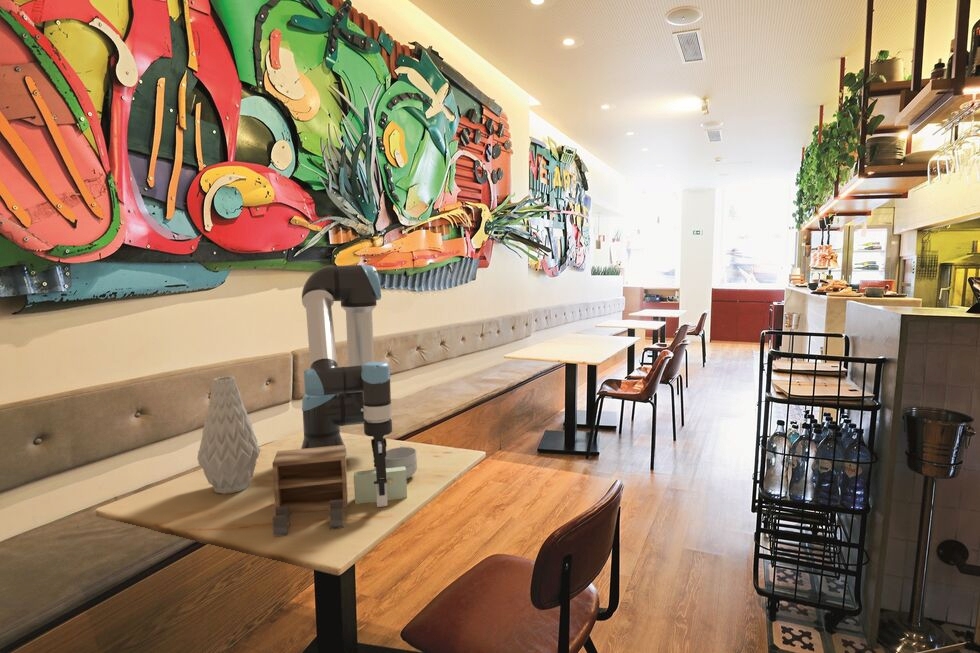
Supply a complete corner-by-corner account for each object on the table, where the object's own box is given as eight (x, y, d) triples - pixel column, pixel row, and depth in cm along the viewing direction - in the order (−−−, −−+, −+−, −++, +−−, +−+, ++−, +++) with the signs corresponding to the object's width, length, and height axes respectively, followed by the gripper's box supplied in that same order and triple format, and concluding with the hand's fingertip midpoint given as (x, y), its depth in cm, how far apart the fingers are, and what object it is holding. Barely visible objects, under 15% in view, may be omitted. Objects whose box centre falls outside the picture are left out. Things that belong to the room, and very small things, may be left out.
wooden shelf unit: (280, 500, 153) (277, 451, 152) (347, 492, 158) (345, 444, 156) (269, 537, 132) (265, 480, 130) (347, 527, 136) (344, 471, 135)
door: (354, 499, 153) (353, 471, 152) (406, 493, 156) (405, 466, 155) (355, 505, 149) (353, 477, 148) (407, 499, 152) (406, 471, 152)
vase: (191, 489, 163) (182, 379, 160) (248, 473, 175) (241, 370, 171) (211, 505, 151) (202, 386, 148) (271, 487, 163) (264, 377, 160)
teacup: (410, 485, 162) (409, 458, 162) (375, 483, 165) (374, 456, 164) (425, 468, 176) (424, 443, 175) (393, 466, 178) (392, 442, 177)
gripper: (362, 410, 161) (365, 484, 163) (364, 431, 139) (368, 517, 141) (388, 408, 163) (391, 481, 165) (395, 429, 141) (398, 513, 143)
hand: (381, 497), depth 153 cm, fingers open, 10 cm apart
